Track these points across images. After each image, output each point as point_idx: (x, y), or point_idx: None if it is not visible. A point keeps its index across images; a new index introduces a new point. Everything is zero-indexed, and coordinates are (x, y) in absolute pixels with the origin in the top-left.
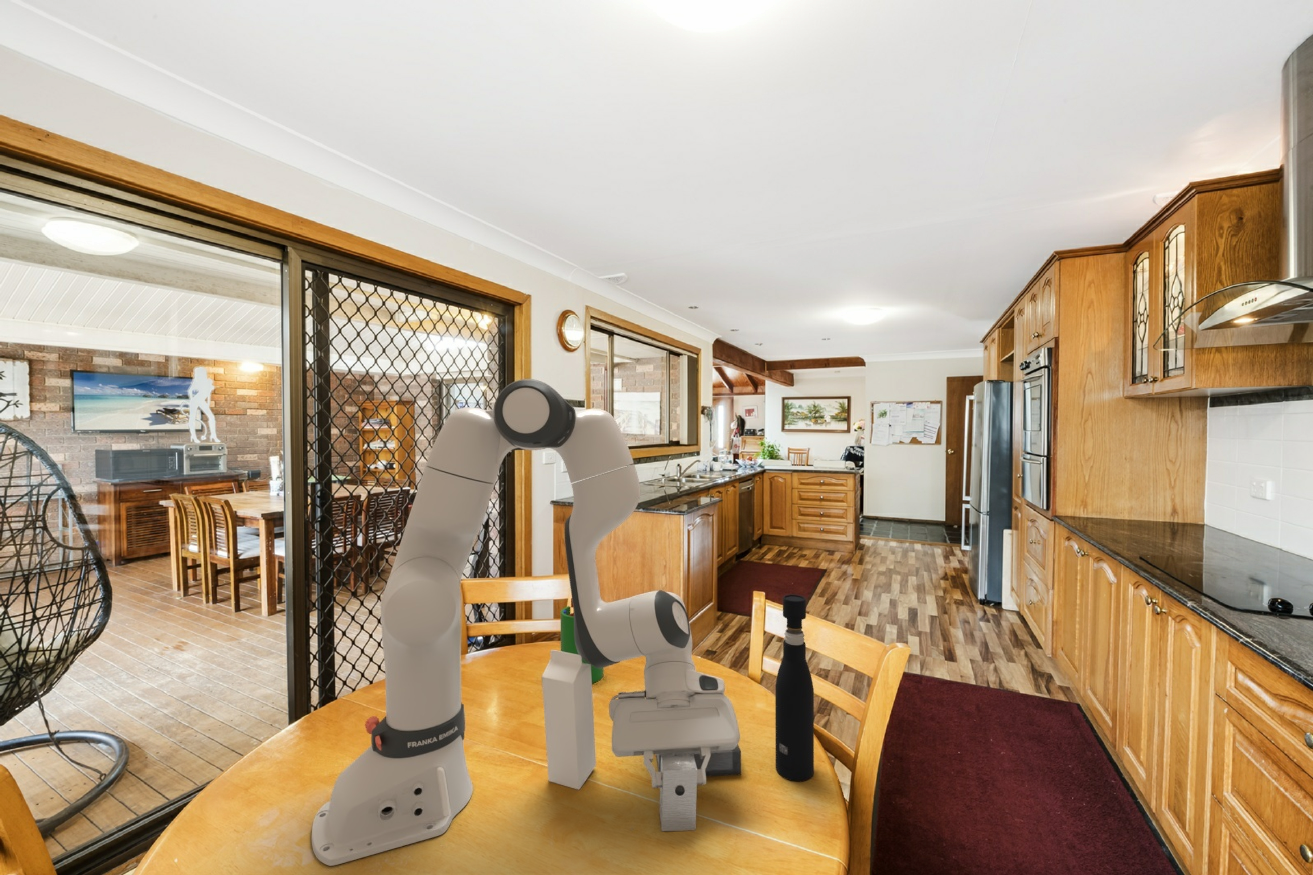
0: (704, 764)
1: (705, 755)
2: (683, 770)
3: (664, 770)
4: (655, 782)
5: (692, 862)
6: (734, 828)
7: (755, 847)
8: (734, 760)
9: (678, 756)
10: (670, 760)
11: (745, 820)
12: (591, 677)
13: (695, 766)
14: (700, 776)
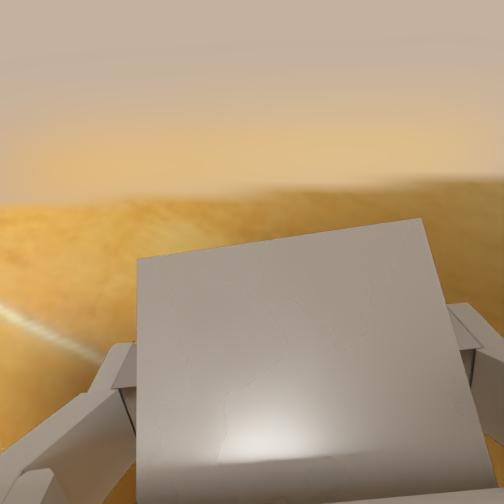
0: (74, 413)
1: (21, 475)
2: (248, 243)
3: (412, 219)
4: (450, 308)
5: (249, 198)
6: (92, 343)
7: (50, 263)
8: None
9: (293, 452)
10: (373, 370)
11: (42, 385)
12: None
13: (144, 297)
14: None
